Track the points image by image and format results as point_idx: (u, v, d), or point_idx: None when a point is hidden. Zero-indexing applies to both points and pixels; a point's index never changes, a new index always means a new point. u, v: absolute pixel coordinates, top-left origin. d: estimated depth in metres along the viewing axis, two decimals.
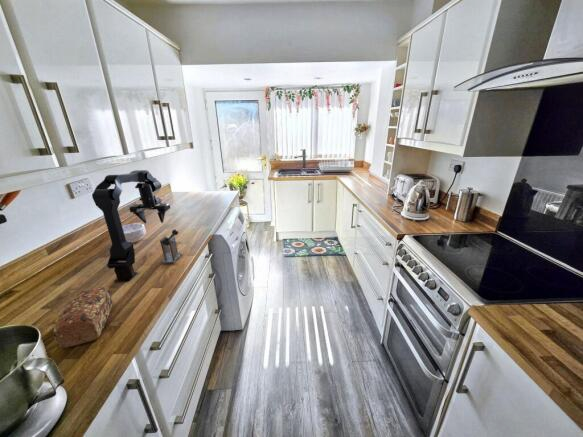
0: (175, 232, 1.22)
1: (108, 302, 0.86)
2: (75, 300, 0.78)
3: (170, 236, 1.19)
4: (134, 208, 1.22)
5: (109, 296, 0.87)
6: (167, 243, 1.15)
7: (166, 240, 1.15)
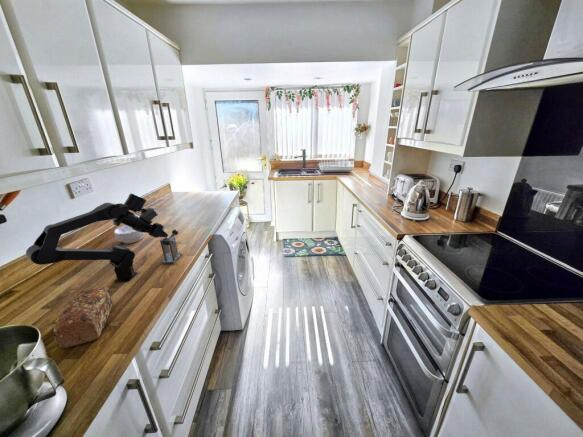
0: (175, 232, 1.22)
1: (108, 302, 0.86)
2: (75, 300, 0.78)
3: (170, 236, 1.19)
4: (135, 229, 1.12)
5: (109, 296, 0.87)
6: (167, 243, 1.15)
7: (166, 240, 1.15)
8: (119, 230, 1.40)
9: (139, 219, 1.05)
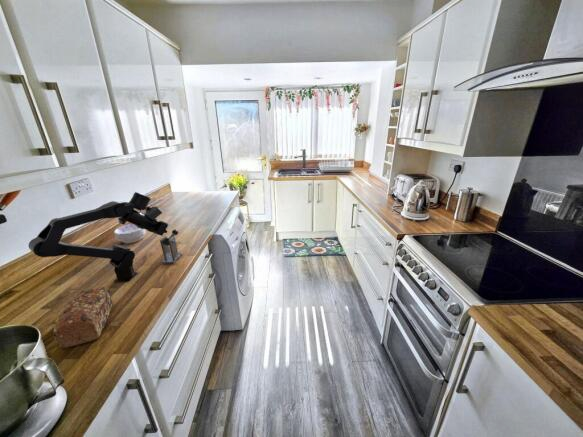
0: (175, 232, 1.22)
1: (108, 302, 0.86)
2: (75, 300, 0.78)
3: (170, 236, 1.19)
4: (139, 227, 1.14)
5: (109, 296, 0.87)
6: (167, 243, 1.15)
7: (166, 240, 1.15)
8: (119, 230, 1.40)
9: (144, 217, 1.06)
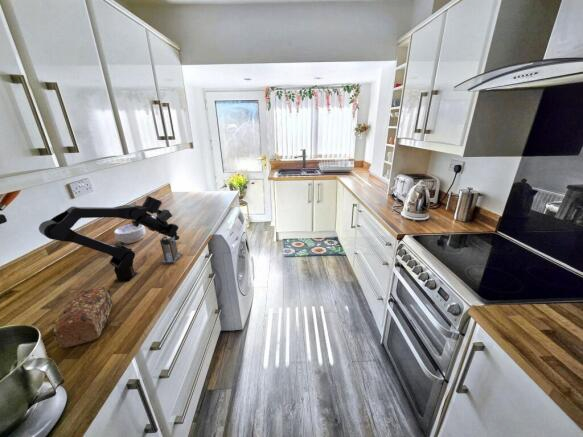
0: (176, 236, 1.23)
1: (108, 302, 0.86)
2: (75, 300, 0.78)
3: None
4: (151, 229, 1.19)
5: (109, 296, 0.87)
6: (167, 242, 1.15)
7: (166, 239, 1.16)
8: (119, 230, 1.40)
9: (156, 220, 1.11)
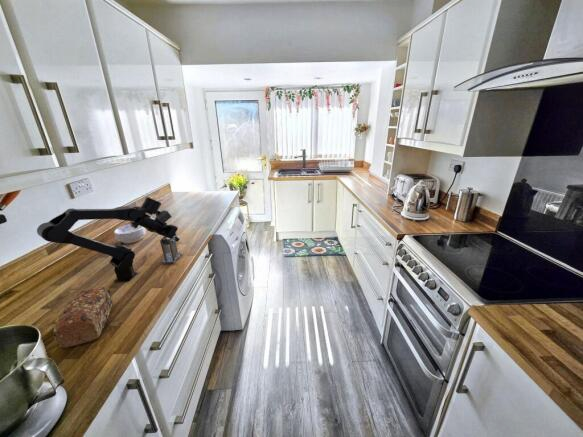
0: (176, 238, 1.23)
1: (108, 302, 0.86)
2: (75, 300, 0.78)
3: None
4: (150, 230, 1.18)
5: (109, 296, 0.87)
6: (167, 242, 1.15)
7: (166, 239, 1.16)
8: (119, 230, 1.40)
9: (155, 221, 1.11)
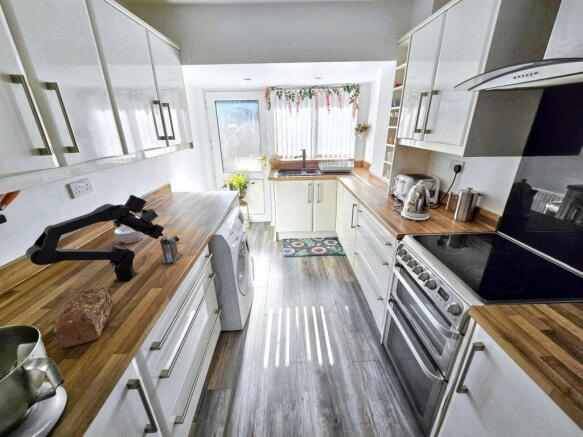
0: (176, 238, 1.23)
1: (108, 302, 0.86)
2: (75, 300, 0.78)
3: None
4: (135, 230, 1.12)
5: (109, 296, 0.87)
6: (167, 242, 1.15)
7: (166, 239, 1.16)
8: (119, 230, 1.40)
9: (139, 220, 1.05)
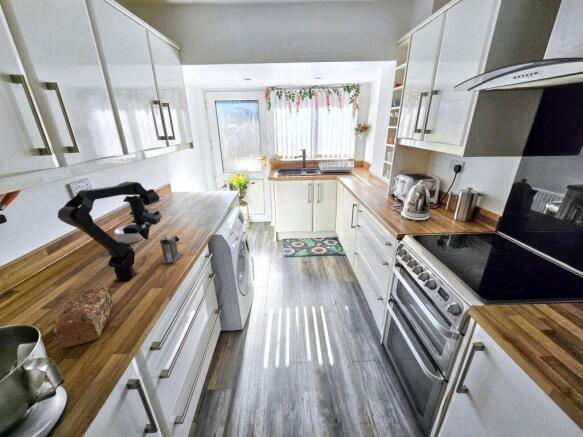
0: (176, 238, 1.23)
1: (108, 302, 0.86)
2: (75, 300, 0.78)
3: None
4: None
5: (109, 296, 0.87)
6: (167, 242, 1.15)
7: (166, 239, 1.16)
8: (119, 230, 1.40)
9: (138, 212, 1.07)
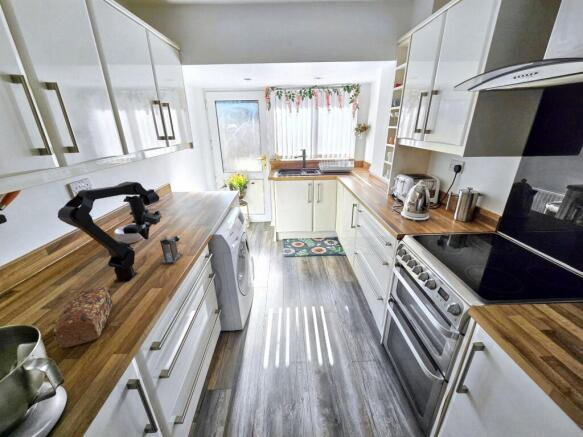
0: (176, 238, 1.23)
1: (108, 302, 0.86)
2: (75, 300, 0.78)
3: None
4: None
5: (109, 296, 0.87)
6: (167, 242, 1.15)
7: (166, 239, 1.16)
8: (119, 230, 1.40)
9: (138, 212, 1.07)
